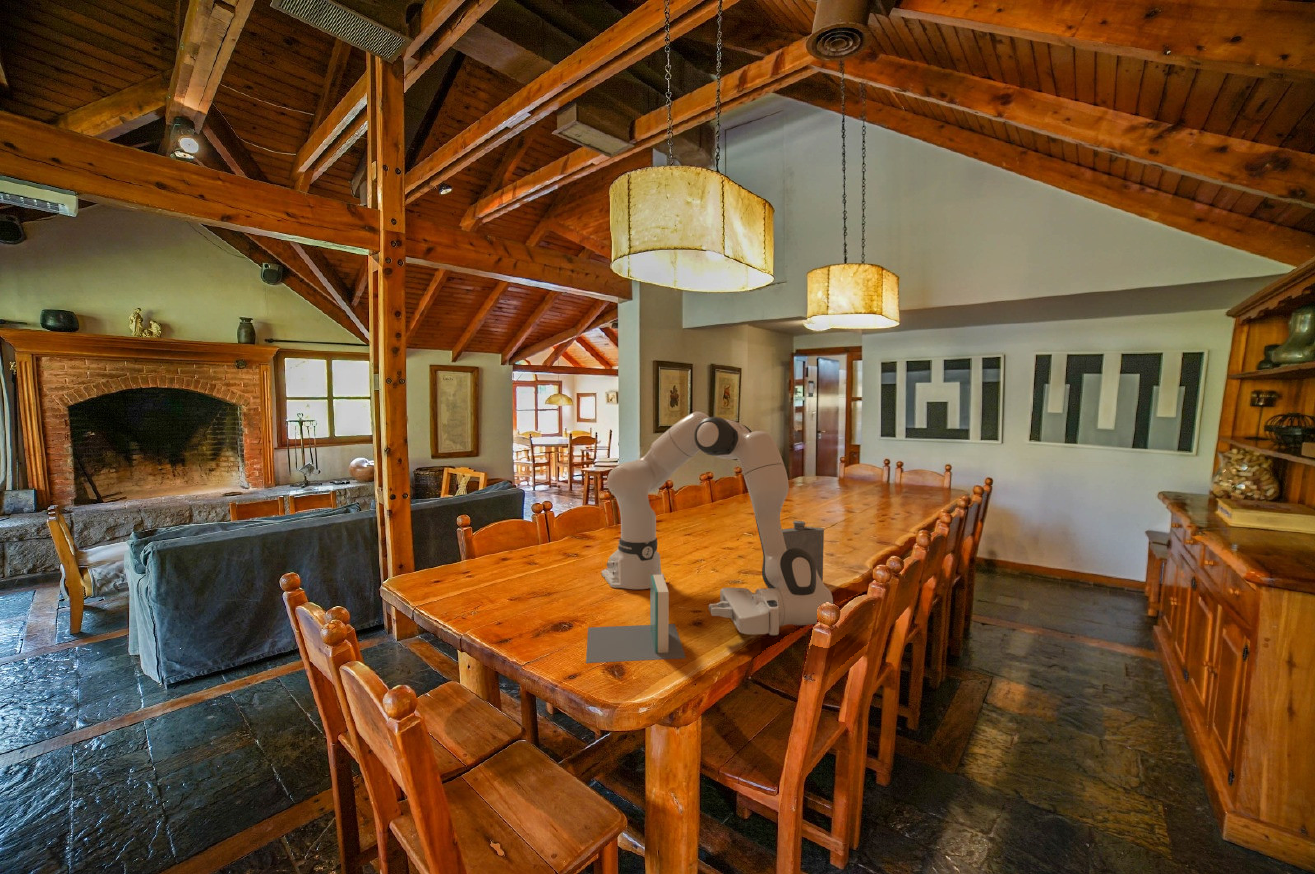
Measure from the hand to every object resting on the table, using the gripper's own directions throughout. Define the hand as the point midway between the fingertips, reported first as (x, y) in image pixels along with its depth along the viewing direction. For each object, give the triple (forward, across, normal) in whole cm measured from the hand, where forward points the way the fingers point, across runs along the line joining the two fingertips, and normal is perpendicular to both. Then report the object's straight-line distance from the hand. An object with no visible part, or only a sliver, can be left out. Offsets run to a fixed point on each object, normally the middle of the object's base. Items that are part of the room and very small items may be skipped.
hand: (710, 610), depth 123 cm
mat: (+18, 0, +7) cm, 20 cm away
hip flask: (-36, -36, +8) cm, 51 cm away
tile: (+12, 0, +7) cm, 14 cm away
